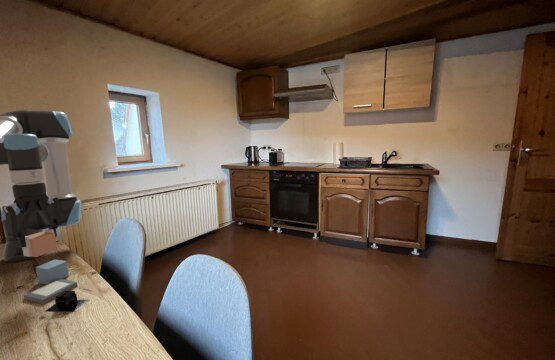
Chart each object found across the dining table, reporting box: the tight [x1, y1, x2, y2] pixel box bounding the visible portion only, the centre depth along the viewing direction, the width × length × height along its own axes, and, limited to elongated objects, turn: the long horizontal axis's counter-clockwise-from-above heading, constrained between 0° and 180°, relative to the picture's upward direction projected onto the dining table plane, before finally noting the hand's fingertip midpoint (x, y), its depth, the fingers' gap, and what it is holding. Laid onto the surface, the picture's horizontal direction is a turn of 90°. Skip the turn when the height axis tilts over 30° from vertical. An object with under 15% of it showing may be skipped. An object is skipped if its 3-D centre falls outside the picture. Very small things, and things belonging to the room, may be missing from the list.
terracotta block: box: [23, 231, 58, 258], centre depth 81 cm, size 6×6×6 cm
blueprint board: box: [23, 278, 79, 305], centre depth 82 cm, size 10×9×2 cm
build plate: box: [44, 290, 90, 313], centre depth 75 cm, size 12×7×5 cm, turn 88°
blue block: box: [35, 259, 70, 285], centre depth 90 cm, size 6×6×6 cm
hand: (40, 251), depth 82 cm, fingers closed on terracotta block, 6 cm apart
